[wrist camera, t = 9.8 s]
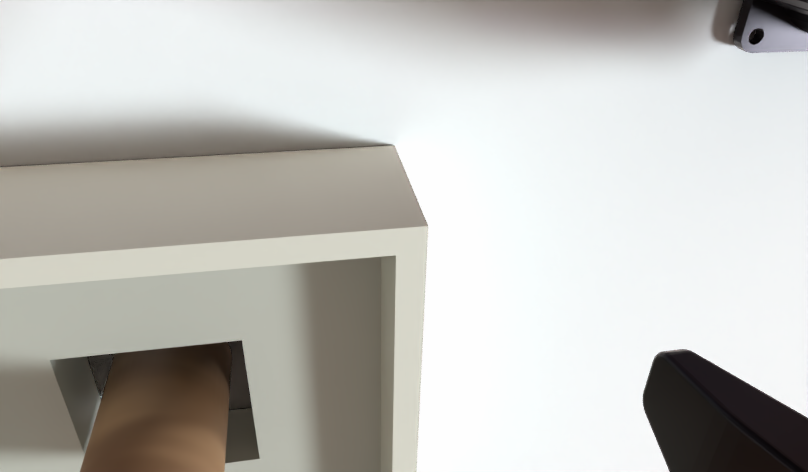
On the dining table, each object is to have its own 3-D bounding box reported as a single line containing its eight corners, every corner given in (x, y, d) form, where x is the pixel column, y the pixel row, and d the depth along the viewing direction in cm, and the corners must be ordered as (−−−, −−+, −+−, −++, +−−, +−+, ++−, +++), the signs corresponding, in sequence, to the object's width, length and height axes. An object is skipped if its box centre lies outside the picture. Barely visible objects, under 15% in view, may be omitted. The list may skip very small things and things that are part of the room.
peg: (224, 311, 22) (203, 552, 15) (238, 392, 24) (225, 640, 17) (103, 322, 21) (14, 582, 14) (128, 405, 24) (63, 670, 16)
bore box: (394, 145, 20) (428, 225, 16) (389, 474, 28) (411, 582, 24) (-181, 177, 17) (-324, 284, 13) (3, 529, 26) (-48, 662, 22)
